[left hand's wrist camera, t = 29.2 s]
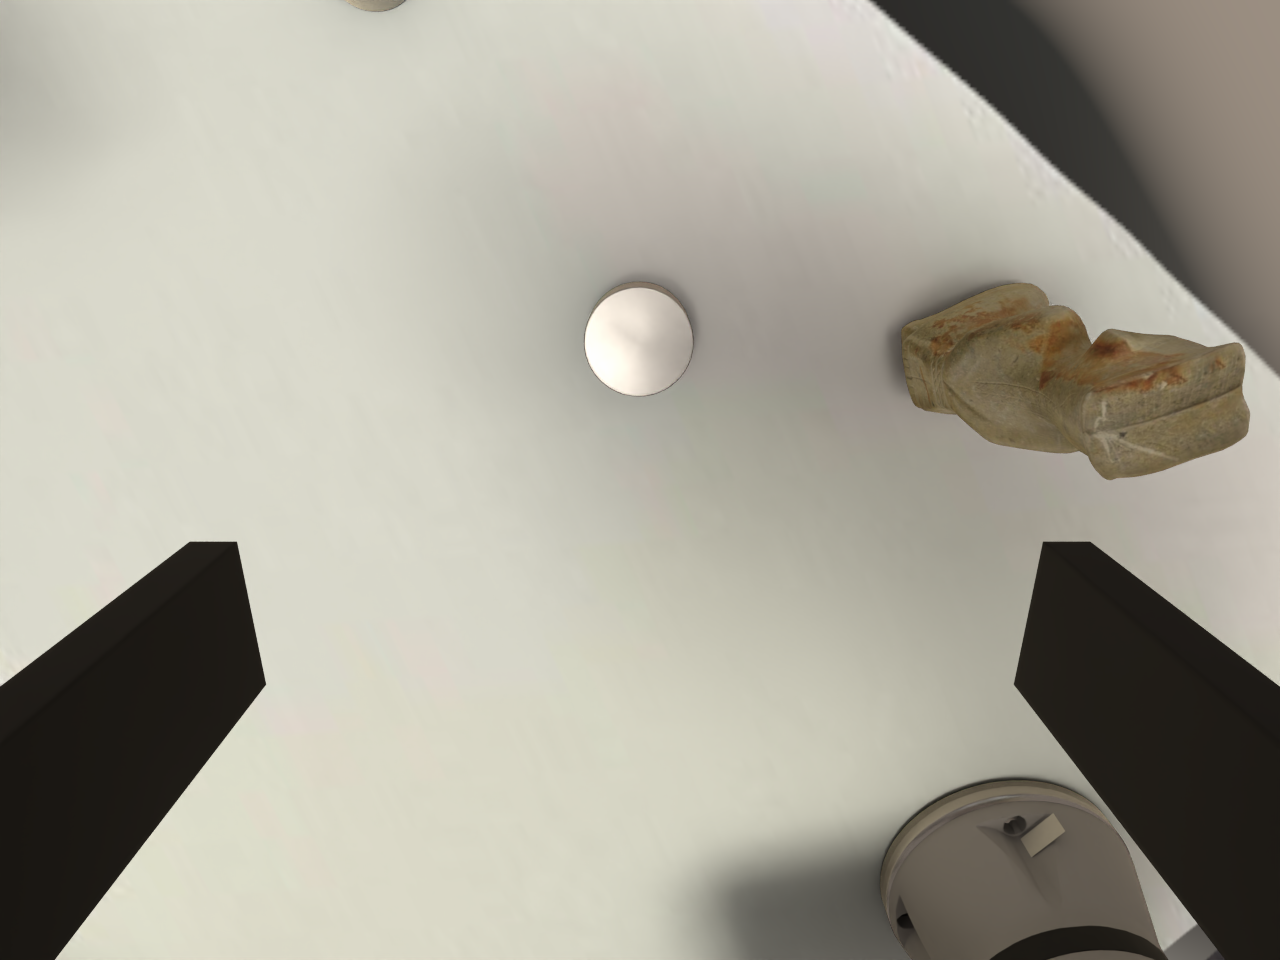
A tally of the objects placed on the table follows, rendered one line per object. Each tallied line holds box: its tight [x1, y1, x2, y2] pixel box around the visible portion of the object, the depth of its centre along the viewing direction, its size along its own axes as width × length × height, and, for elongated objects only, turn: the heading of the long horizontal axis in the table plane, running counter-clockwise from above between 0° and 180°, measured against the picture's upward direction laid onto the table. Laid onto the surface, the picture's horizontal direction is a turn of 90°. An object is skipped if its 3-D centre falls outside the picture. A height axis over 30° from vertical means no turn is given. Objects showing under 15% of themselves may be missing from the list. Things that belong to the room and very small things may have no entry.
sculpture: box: [901, 283, 1250, 480], centre depth 30 cm, size 6×7×15 cm
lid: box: [584, 282, 693, 396], centre depth 36 cm, size 5×5×2 cm
